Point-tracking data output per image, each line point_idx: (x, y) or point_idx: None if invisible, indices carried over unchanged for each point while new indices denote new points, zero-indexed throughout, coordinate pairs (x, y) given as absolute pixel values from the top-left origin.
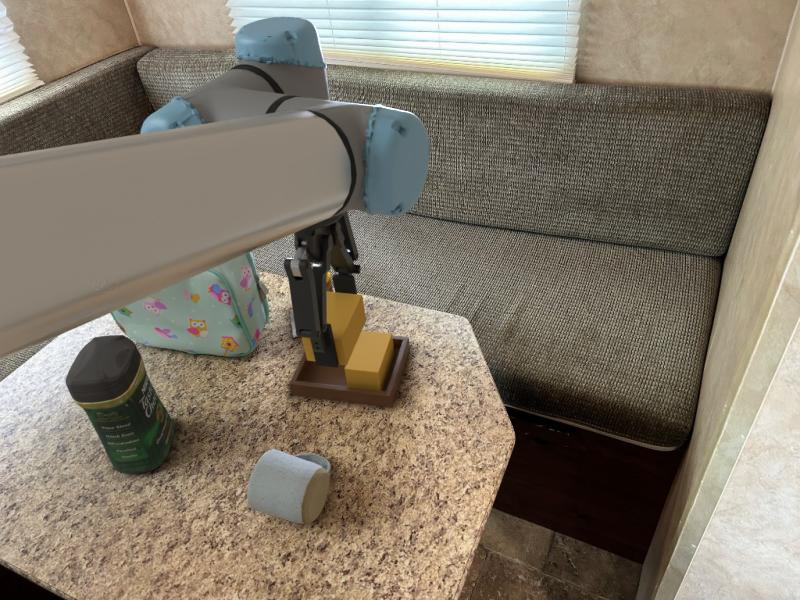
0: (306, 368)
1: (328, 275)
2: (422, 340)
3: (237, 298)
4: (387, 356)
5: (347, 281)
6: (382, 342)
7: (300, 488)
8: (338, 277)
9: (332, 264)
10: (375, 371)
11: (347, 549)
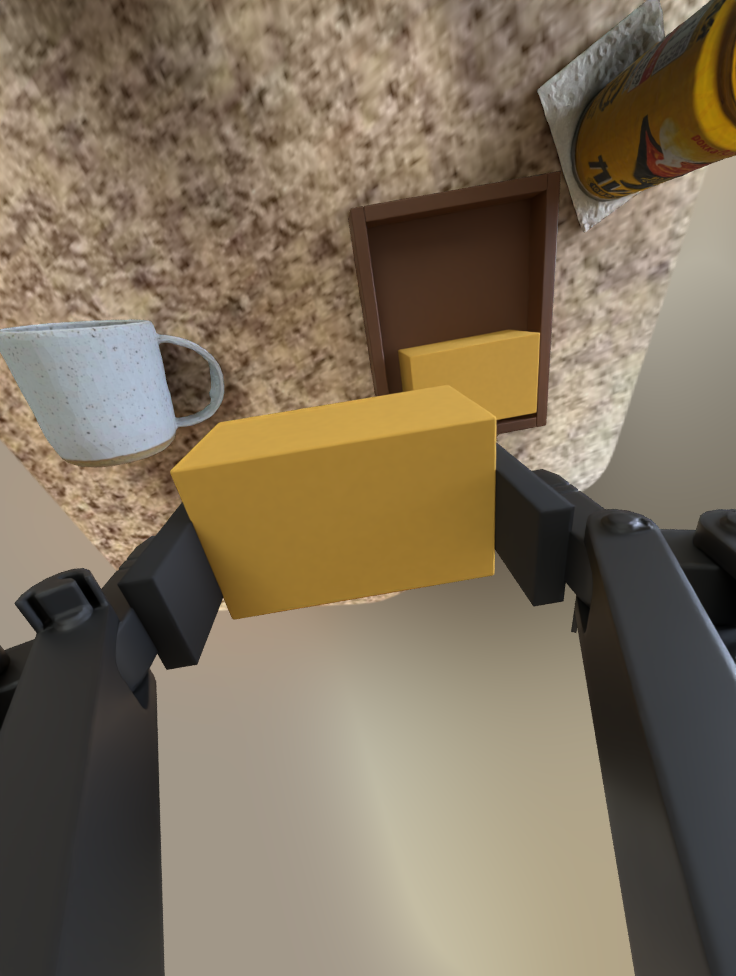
0: (426, 216)
1: None
2: (554, 429)
3: None
4: None
5: (526, 574)
6: (505, 404)
7: (64, 451)
8: (545, 540)
9: (600, 600)
10: None
11: (121, 492)
